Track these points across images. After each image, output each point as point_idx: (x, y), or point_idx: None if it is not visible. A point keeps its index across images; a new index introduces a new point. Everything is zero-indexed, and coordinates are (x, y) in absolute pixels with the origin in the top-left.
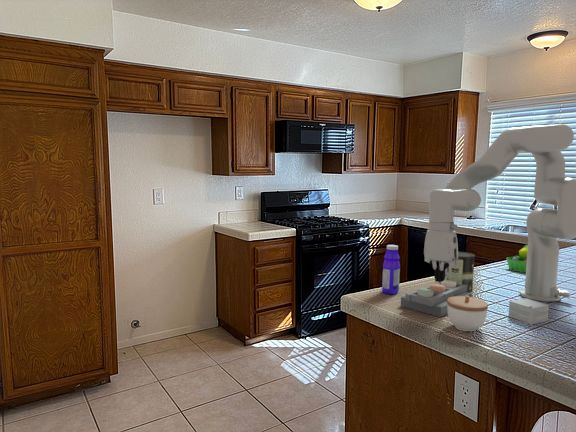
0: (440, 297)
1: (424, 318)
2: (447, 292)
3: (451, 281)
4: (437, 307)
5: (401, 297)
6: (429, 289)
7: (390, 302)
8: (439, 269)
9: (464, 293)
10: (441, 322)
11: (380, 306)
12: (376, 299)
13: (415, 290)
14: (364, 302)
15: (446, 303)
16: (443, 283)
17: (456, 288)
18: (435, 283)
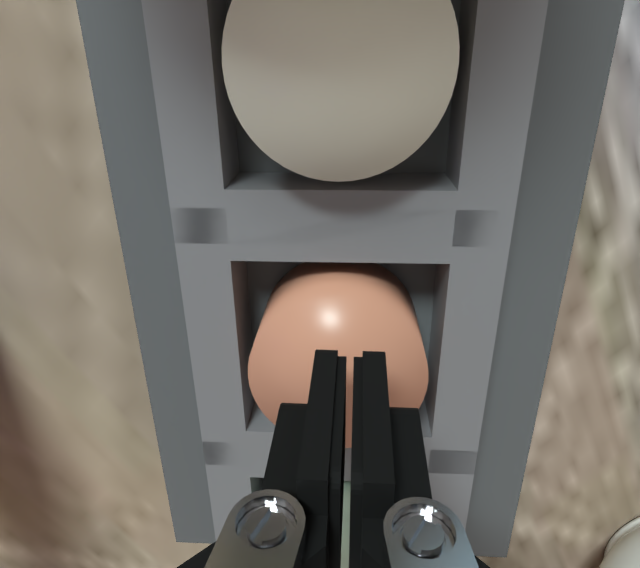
0: (464, 513)
1: None
2: (469, 383)
3: (363, 4)
4: (475, 550)
5: (182, 541)
6: (342, 526)
7: (104, 470)
8: (328, 530)
9: (553, 21)
10: (524, 560)
11: (128, 555)
12: (7, 478)
13: (217, 509)
14: (21, 556)
15: (504, 465)
16: (309, 173)
17: (496, 156)
18: (180, 134)
